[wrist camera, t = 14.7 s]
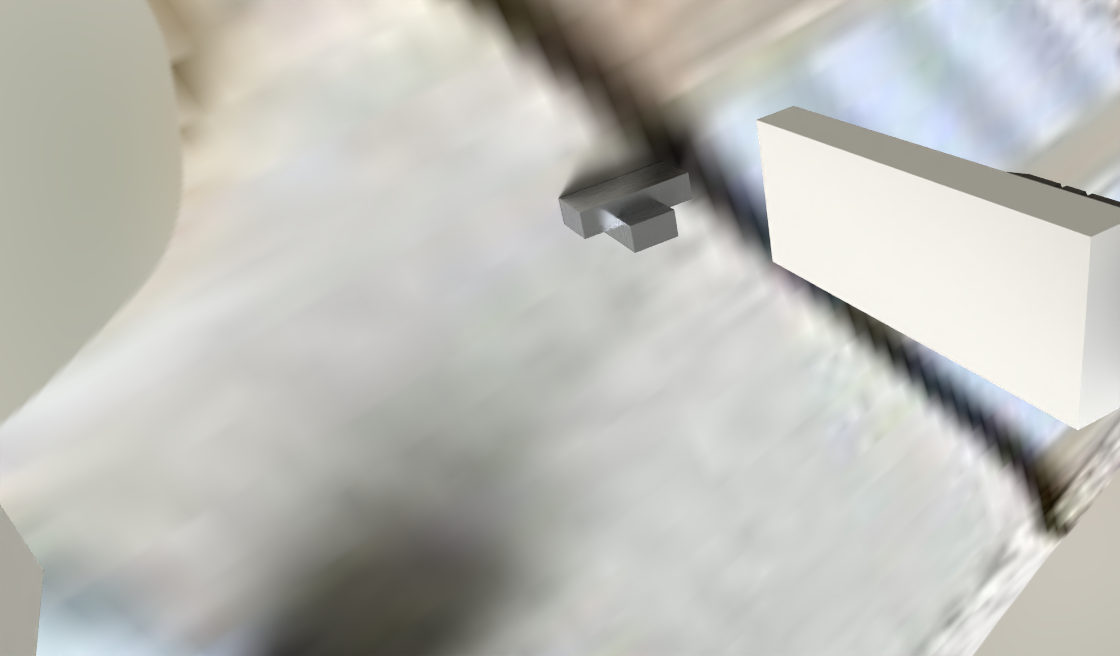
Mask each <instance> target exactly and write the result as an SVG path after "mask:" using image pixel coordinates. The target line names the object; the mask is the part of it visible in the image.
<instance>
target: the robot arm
mask: <svg viewBox="0 0 1120 656" xmlns="http://www.w3.org/2000/svg"><path fill="white" fill-rule="evenodd" d="M757 129H758V138H759V146H760V155H761V163H762V172H763V181H764V189H765V198H766V207H767V215H768V224H769V232H770V241H771V250H772V258H773V262H775V263H777V264H778V265H780V266H782V267H784V268H786V269H787V270H789V271H791V272H793V273H795V274H796V275H798V276H800V277H802V278H804V279H805V280H807V281H809V282H811V283H813V284H815V285H816V286H818V287H820V288H822V289H824V290H825V291H827V292H829V293H831V294H833V295H834V296H836V297H838V298H840V299H842V300H843V301H845V302H847V303H849V304H851V305H852V306H854V307H856V308H858V309H860V310H861V311H863V312H865V313H867V314H869V315H870V316H872V317H874V318H876V319H878V320H880V321H881V322H883V323H885V324H887V325H889V326H890V327H892V328H894V329H896V330H898V331H899V332H901V333H903V334H905V335H907V336H908V337H910V338H912V339H914V340H916V341H917V342H919V343H921V344H923V345H925V346H926V347H928V348H930V349H932V350H934V351H936V352H937V353H939V354H941V355H943V356H945V357H946V358H948V359H950V360H952V361H954V362H955V363H957V364H959V365H961V366H963V367H964V368H966V369H968V370H970V371H972V372H973V373H975V374H977V375H979V376H981V377H982V378H984V379H986V380H988V381H990V382H992V383H993V384H995V385H997V386H999V387H1001V388H1002V389H1004V390H1006V391H1008V392H1010V393H1011V394H1013V395H1015V396H1017V397H1019V398H1020V399H1022V400H1024V401H1026V402H1028V403H1029V404H1031V405H1033V406H1035V407H1037V408H1038V409H1040V410H1042V411H1044V412H1046V413H1047V414H1049V415H1051V416H1053V417H1055V418H1057V419H1058V420H1060V421H1062V422H1064V423H1066V424H1067V425H1069V426H1071V427H1073V428H1075V429H1076V430H1079V429H1081V428H1083V427H1085V426H1087V425H1089V424H1091V423H1092V422H1094V421H1096V420H1098V419H1100V418H1102V417H1104V416H1106V415H1107V414H1109V413H1111V412H1113V411H1115V410H1117V409H1119V408H1120V202H1118V201H1115V200H1112V199H1109V198H1105V197H1102V196H1099V195H1096V194H1090V195H1087V194H1086V191H1082V190H1079V189H1076V188H1073V187H1069V186H1065V187H1063V188H1062V187H1061V184H1059V183H1056V182H1053V181H1050V180H1046V179H1043V178H1040V177H1037V176H1033V175H1030V174H1022V173H1012V172H1004V171H1001V170H998V169H994V168H991V167H988V166H985V165H982V164H978V163H975V162H972V161H969V160H966V159H962V158H959V157H956V156H953V155H949V154H946V153H943V152H940V151H937V150H933V149H930V148H927V147H924V146H920V145H917V144H914V143H911V142H908V141H904V140H901V139H898V138H895V137H892V136H888V135H885V134H882V133H879V132H875V131H872V130H869V129H866V128H863V127H859V126H856V125H853V124H850V123H847V122H843V121H840V120H837V119H834V118H830V117H827V116H824V115H821V114H818V113H814V112H811V111H808V110H805V109H802V108H798V107H795V106H792V107H789V108H787V109H784V110H782V111H779V112H776V113H774V114H771V115H768V116H766V117H763V118H760V119H758V120H757ZM43 573H44V570H43V569H42V567H41V566H40V564H39V563H38V561H37V559H36V558H35V556H34V555H33V553H32V552H31V550H30V549H29V547H28V546H27V544H26V543H25V541H24V540H23V538H22V537H21V535H20V534H19V532H18V531H17V529H16V528H15V526H14V525H13V523H12V522H11V520H10V519H9V517H8V516H7V514H6V513H5V511H4V510H3V508H2V507H1V505H0V656H36V649H37V638H38V627H39V616H40V605H41V594H42V583H43Z"/></svg>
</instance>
